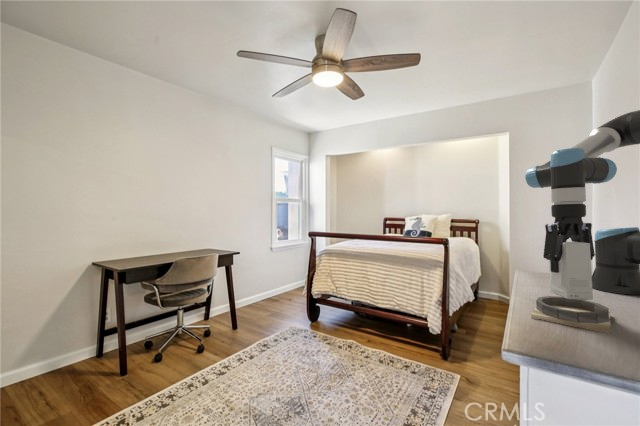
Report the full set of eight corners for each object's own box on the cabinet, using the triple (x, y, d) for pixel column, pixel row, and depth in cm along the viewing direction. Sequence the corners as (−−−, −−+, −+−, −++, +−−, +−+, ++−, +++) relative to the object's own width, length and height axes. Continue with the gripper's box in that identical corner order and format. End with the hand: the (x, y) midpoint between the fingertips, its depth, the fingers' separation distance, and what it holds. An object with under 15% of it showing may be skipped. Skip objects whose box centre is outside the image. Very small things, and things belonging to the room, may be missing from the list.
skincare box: (593, 300, 78) (592, 243, 78) (565, 299, 80) (565, 243, 80) (572, 292, 87) (571, 240, 87) (547, 291, 88) (547, 240, 88)
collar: (541, 304, 94) (540, 293, 94) (610, 316, 83) (610, 303, 83) (531, 318, 83) (531, 305, 83) (610, 333, 72) (609, 318, 72)
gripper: (582, 203, 89) (584, 277, 89) (526, 204, 85) (527, 282, 85) (611, 202, 81) (613, 283, 81) (551, 203, 77) (553, 288, 77)
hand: (569, 282), depth 83 cm, fingers closed on skincare box, 8 cm apart
